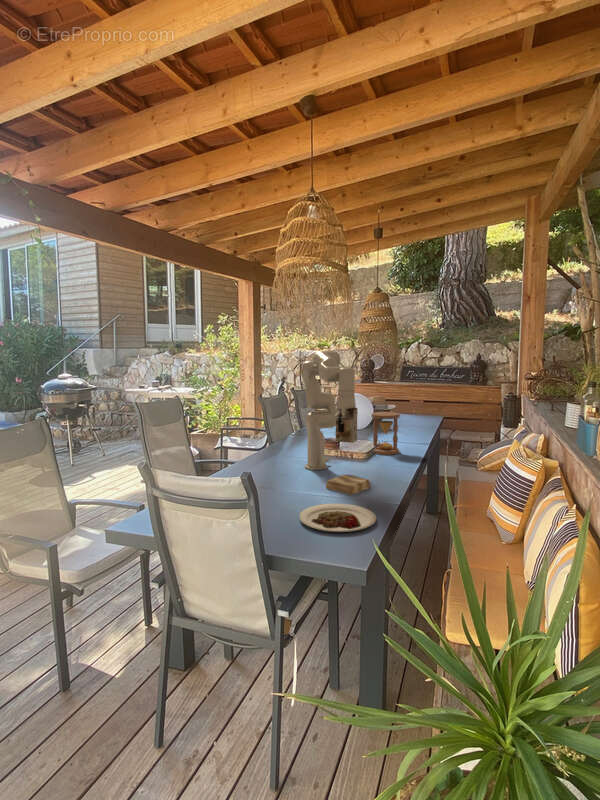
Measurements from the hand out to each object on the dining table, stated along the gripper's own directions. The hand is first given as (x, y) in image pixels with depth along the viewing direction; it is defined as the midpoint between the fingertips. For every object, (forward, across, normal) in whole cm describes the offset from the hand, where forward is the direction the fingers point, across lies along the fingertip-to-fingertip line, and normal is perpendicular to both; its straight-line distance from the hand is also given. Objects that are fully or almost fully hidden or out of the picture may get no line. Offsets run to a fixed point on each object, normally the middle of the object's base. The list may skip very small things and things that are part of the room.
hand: (346, 430), depth 225 cm
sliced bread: (+28, 0, +1) cm, 28 cm away
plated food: (+29, +36, +24) cm, 52 cm away
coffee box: (+5, 0, 0) cm, 5 cm away
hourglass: (+28, -78, -29) cm, 88 cm away
